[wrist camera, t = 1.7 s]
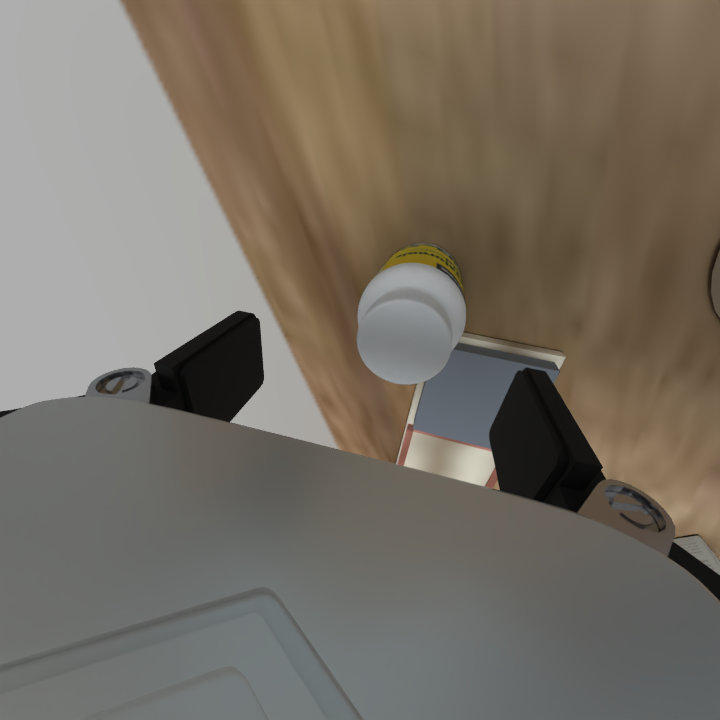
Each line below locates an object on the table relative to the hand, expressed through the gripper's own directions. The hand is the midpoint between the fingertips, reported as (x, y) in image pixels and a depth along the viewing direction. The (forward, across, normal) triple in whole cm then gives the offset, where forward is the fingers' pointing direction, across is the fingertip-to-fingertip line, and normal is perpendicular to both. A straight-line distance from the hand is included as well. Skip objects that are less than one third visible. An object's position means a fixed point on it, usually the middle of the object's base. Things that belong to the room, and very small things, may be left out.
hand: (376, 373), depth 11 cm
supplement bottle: (+12, -1, 0) cm, 12 cm away
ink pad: (+11, -7, +7) cm, 15 cm away
